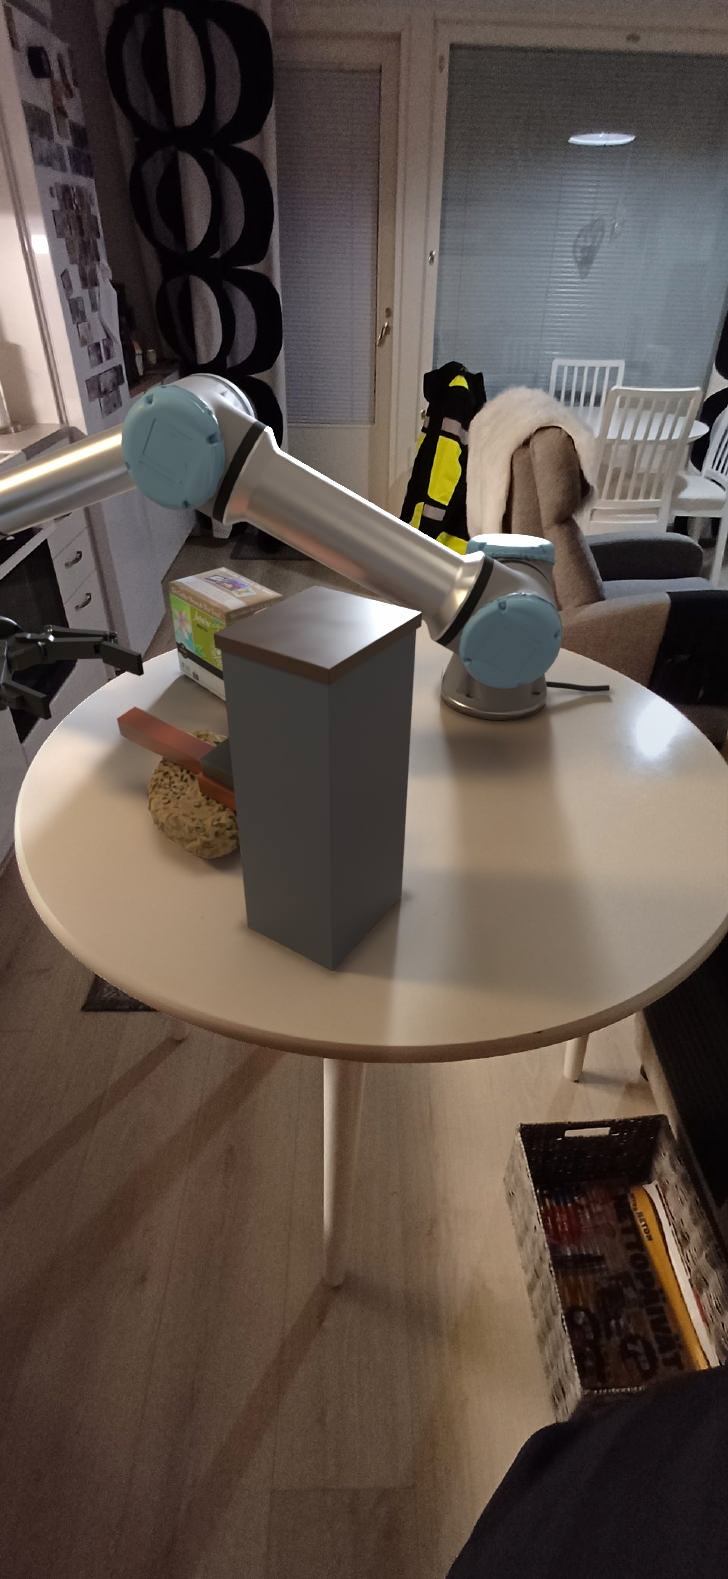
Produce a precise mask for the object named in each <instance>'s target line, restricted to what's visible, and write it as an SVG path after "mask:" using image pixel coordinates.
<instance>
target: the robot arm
mask: <svg viewBox="0 0 728 1579" xmlns="http://www.w3.org/2000/svg"><path fill="white" fill-rule="evenodd" d="M254 413H255V412H254V410H253V408H252V406H251V404H250V401H249V400H248V398H247V397H246V395H245V394H244V393H243V392H242V390H240V389H239V387H238V386H236V385H235V384H234V383H233V382H231V381H229V380H228V379H226V378H224V377H222V376H220V375H216V374H212V373H203V372H202V373H201V372H200V373H193V374H190V375H187V376H185V377H182V378H179V379H178V380H176V381H173V382H170V383H168V384H163V385H158V386H155V387H153V388H151V389H149V390H148V391H147V392H145V393H144V394H143V395H142V396H141V398H139V399H138V400H136V401H135V403H134V404H133V405H132V406H131V408H130V409H129V410H128V412H127V414H126V415H125V418H124V421H123V422H122V423H121V422H120V423H119V424H117V425H116V424H115V425H114V426H111V427H109V428H107V429H105V430H101V431H99V432H97V433H95V434H92V435H90V436H87V437H85V438H83V439H80V440H78V441H75V442H72V443H70V444H67V445H65V446H63V447H60V448H58V449H55V450H53V451H51V452H48V453H45V454H43V455H41V456H38V457H36V458H33V459H31V460H28V461H25V462H23V463H21V464H19V465H16V466H14V467H11V468H9V469H6V470H4V471H1V472H0V540H1V539H5V538H7V537H9V536H11V535H13V534H17V533H19V532H21V531H24V530H27V529H29V528H33V527H35V526H39V525H41V524H43V523H46V522H49V521H52V520H54V519H57V518H59V517H62V516H65V515H68V514H70V513H73V512H75V511H78V510H81V509H84V508H87V507H90V506H91V505H94V504H97V503H100V502H102V501H105V500H108V499H110V498H113V497H117V496H118V495H121V494H124V493H126V492H129V491H132V490H136V489H138V490H139V491H140V493H142V494H143V495H144V497H146V498H147V499H149V500H150V501H151V502H153V503H154V504H156V505H157V506H160V507H162V508H165V509H169V510H173V511H183V512H184V511H185V512H186V511H193V510H196V511H199V512H201V513H202V514H204V515H206V516H207V517H209V518H211V519H213V520H215V521H217V522H219V523H220V524H221V525H224V526H226V527H227V526H230V525H234V524H237V523H240V522H246V523H248V524H250V525H252V526H253V527H255V528H257V529H259V530H261V531H263V532H265V533H266V534H268V535H270V536H272V537H273V538H275V539H277V540H278V541H281V542H282V543H284V544H286V545H288V546H289V547H291V548H293V549H295V550H297V551H298V552H301V553H302V554H304V555H305V556H307V557H309V558H311V559H313V560H315V561H316V562H318V563H320V564H321V565H323V566H325V567H327V568H329V569H330V570H332V571H334V572H335V573H338V574H339V575H341V576H343V577H345V578H347V579H349V580H350V581H352V582H354V583H356V584H358V585H359V586H361V587H363V588H364V589H367V590H368V591H370V592H372V593H374V594H375V595H377V596H379V597H381V598H382V599H384V600H386V601H388V602H389V603H391V604H392V605H395V606H399V607H402V608H406V609H410V610H414V611H418V612H422V622H424V623H425V625H426V627H427V630H428V634H429V638H430V640H432V641H433V642H435V643H436V644H438V645H440V646H442V647H443V648H445V649H447V650H449V651H451V652H452V655H451V656H450V659H449V661H448V664H447V666H446V668H445V670H442V671H441V676H440V680H441V682H440V683H441V685H440V695H441V698H442V700H443V701H444V702H445V703H446V704H447V705H448V706H449V707H450V708H452V709H454V710H455V711H456V712H457V711H458V712H459V713H462V714H464V715H467V716H469V717H474V718H478V719H483V720H491V721H511V720H519V719H524V718H527V717H530V716H532V715H535V714H537V713H538V712H539V711H541V710H542V709H543V708H544V706H545V704H546V699H547V694H548V691H547V690H548V688H551V689H552V688H554V689H563V690H565V689H566V690H573V691H580V692H609V691H610V690H611V689H610V684H598V685H586V684H576V683H569V682H561V681H560V682H559V681H549V680H547V679H546V673H547V672H548V671H549V669H550V668H551V667H552V665H553V664H554V663H555V661H556V660H557V657H558V656H559V653H560V650H561V646H562V641H563V640H562V634H563V633H562V632H563V624H562V617H561V614H560V612H559V610H558V606H557V602H556V598H555V594H554V591H553V586H552V577H553V570H554V566H555V565H556V559H555V558H556V557H555V556H556V548H555V546H554V544H553V542H551V541H550V540H547V539H545V538H542V537H537V536H532V535H525V534H514V533H513V534H512V533H510V534H509V533H490V534H480V535H476V536H474V537H472V538H470V539H469V541H467V544H466V547H465V554H464V555H461V554H459V553H457V552H456V551H454V550H452V549H450V548H449V547H447V546H445V545H444V544H442V543H440V542H438V541H437V540H435V539H433V538H432V537H430V536H428V535H427V534H424V533H423V532H421V531H420V530H418V529H417V528H414V527H412V526H411V525H409V524H408V523H406V522H404V521H402V520H401V519H399V518H397V517H395V516H394V515H392V514H391V513H389V512H387V511H385V510H384V509H382V508H380V507H378V506H377V505H375V504H374V503H372V502H369V501H368V500H366V499H365V498H363V497H361V496H360V495H358V494H356V493H354V492H353V491H351V490H350V489H347V487H344V486H342V485H340V484H339V483H337V482H335V481H333V480H332V479H330V478H329V477H327V476H325V475H324V474H321V473H320V472H318V471H317V470H315V469H313V468H311V467H310V466H308V465H306V463H305V464H304V463H302V461H300V460H298V459H296V458H294V457H292V456H291V455H289V454H287V453H285V452H284V451H282V450H281V449H280V448H279V446H278V444H277V441H276V438H275V436H274V432H273V429H272V428H271V427H269V426H268V425H266V424H264V422H261V421H259V420H258V419H256V417H255V414H254ZM43 630H44V632H42V633H40V634H37V633H33V632H32V633H31V632H25V631H24V630H23V629H22V628H21V626H20V625H19V624H17V622H15V621H14V620H12V619H10V618H9V617H5V616H2V615H0V712H3V711H6V710H8V708H10V709H13V710H19V709H20V710H22V711H25V712H26V713H29V714H31V715H33V716H36V717H38V718H40V719H43V720H45V721H47V720H50V719H52V718H53V717H52V712H51V707H50V702H49V697H48V695H47V694H44V693H42V692H39V691H37V690H35V689H32V688H30V687H28V686H26V685H24V684H21V683H18V682H16V681H13V680H12V679H13V675H14V673H15V672H16V671H19V672H21V671H23V670H25V669H27V668H29V667H32V666H35V665H49V664H51V665H52V664H54V663H55V662H56V661H61V660H62V661H65V660H66V661H67V660H102V663H103V664H106V665H108V666H111V667H114V668H117V669H119V670H121V671H124V672H127V673H129V674H132V675H135V676H138V677H141V676H143V675H145V670H144V663H143V657H142V653H141V652H137V651H135V650H133V649H129V648H128V647H126V646H123V645H120V644H119V640H118V633H117V631H114V630H113V631H112V630H101V629H100V630H99V629H89V628H87V629H85V628H75V627H74V628H73V627H63V626H62V627H61V626H58V625H54V624H45V625H44V626H43ZM44 645H45V648H46V653H47V655H44V647H43V646H44Z"/></svg>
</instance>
